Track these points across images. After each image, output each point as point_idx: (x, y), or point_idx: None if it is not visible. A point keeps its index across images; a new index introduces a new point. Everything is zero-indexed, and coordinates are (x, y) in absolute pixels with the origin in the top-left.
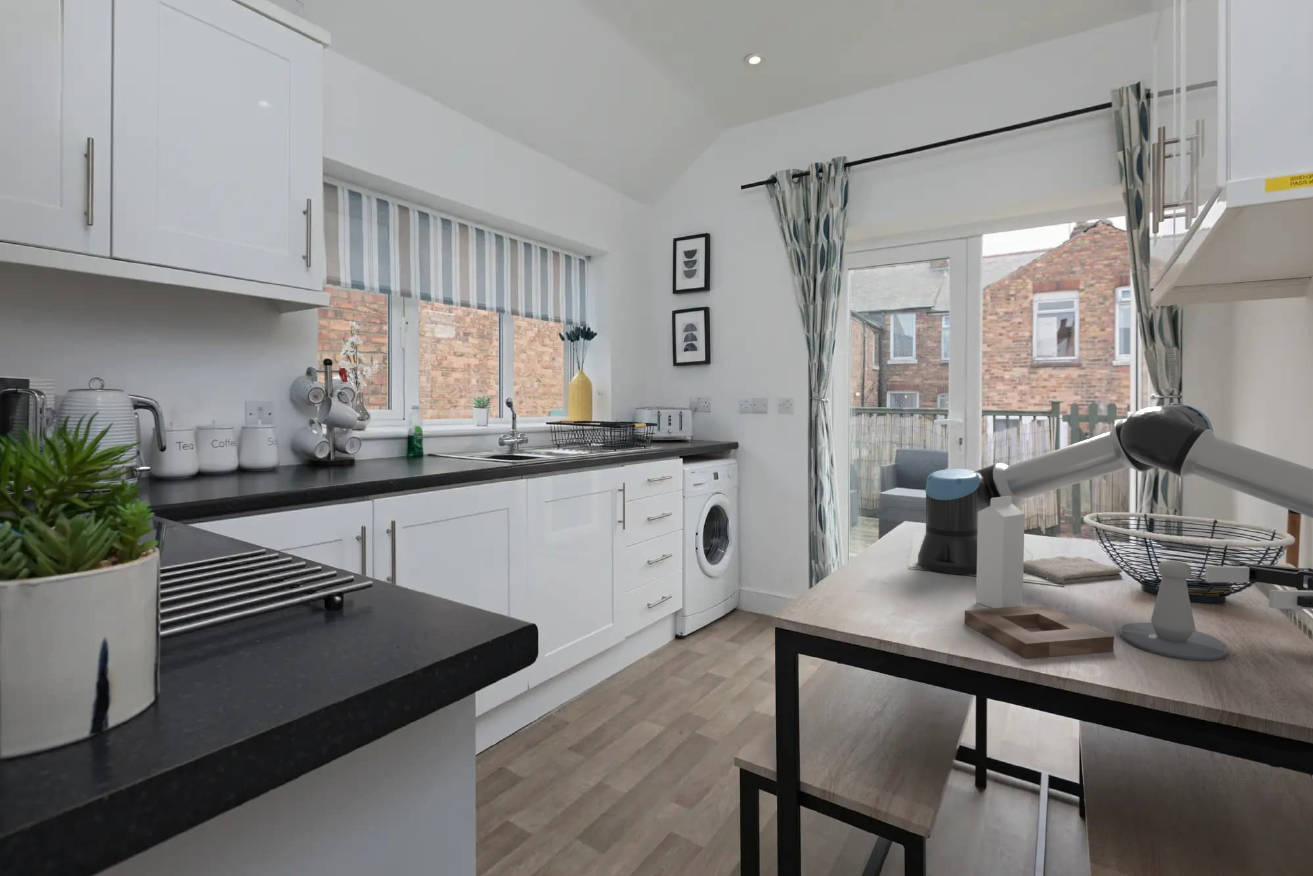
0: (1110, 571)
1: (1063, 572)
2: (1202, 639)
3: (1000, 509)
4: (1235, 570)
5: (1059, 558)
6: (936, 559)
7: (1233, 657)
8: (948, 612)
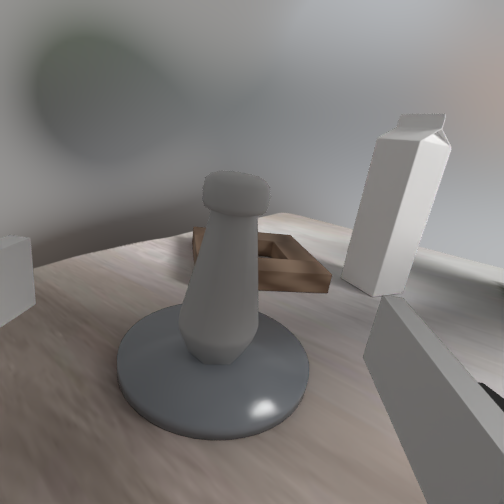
0: None
1: None
2: (197, 389)
3: (397, 131)
4: (440, 398)
5: None
6: None
7: (111, 408)
8: (321, 253)
